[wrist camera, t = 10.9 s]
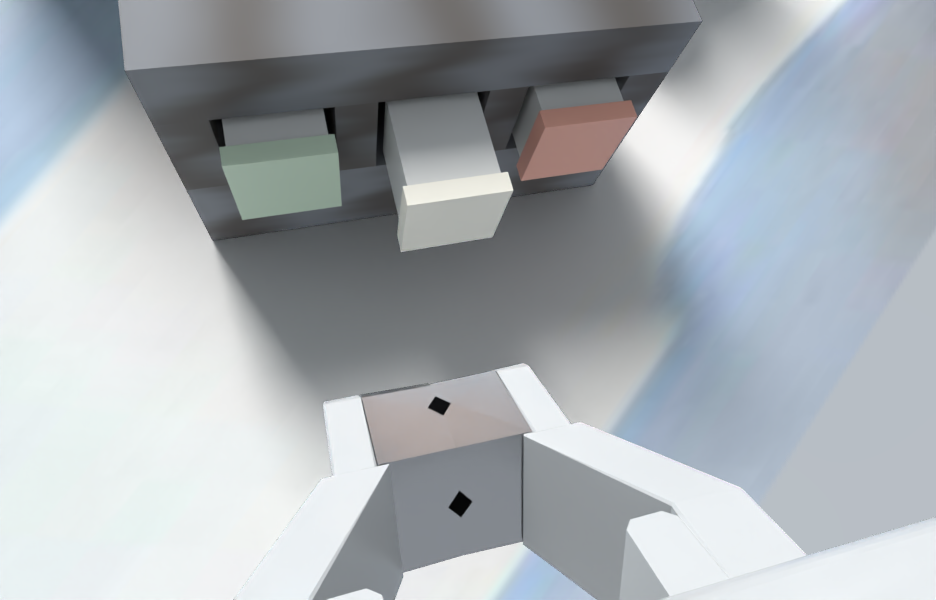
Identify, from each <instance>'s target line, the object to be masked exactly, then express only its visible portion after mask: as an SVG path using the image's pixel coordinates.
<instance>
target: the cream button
mask: <svg viewBox="0 0 936 600" xmlns="http://www.w3.org/2000/svg"><path fill="white" fill-rule="evenodd" d="M383 153H384V157H385V162H386V166H387V170H388V175H389V179H390V183H391V187H392V192H393V196H394V200H395V204H396V209H397V213H398V217H399V222H398V231H397V237H398V241H399V246H400V250H401V252H405V251H411V250H417V249H423V248H429V247H436V246H442V245H448V244H454V243H460V242H467V241H473V240H479V239H485V238H491V237H493V235H494V233H495V231H496V228H497V226H498V224H499V222H500V220H501V217H502V215H503V213H504V211H505V208H506V206H507V204H508V202H509V199H510V197H511V195H512V193H513V187H512V184H511V180H510V177H509V174H508V172H503V173H501V171H500V168H499V164H498V161H497V158H496V154H495V151H494V148H493V144H492V141H491V138H490V134H489V131H488V127H487V124H486V121H485V117H484V114H483V111H482V107H481V104H480V100H479V97H478V94H477V92H472V93H462V94H453V95H443V96H434V97H424V98H415V99H405V100H396V101H386V102H385V119H384V137H383Z"/></svg>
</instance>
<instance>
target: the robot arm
mask: <svg viewBox="0 0 936 600" xmlns="http://www.w3.org/2000/svg"><path fill="white" fill-rule="evenodd" d="M360 397H361V398H360ZM360 397H359V396H358V395H355V396H350V397H345V398H340V399H335V400H330V401H325V402H324V405H323V410H324V417H325V425H326V432H327V440H328V447H329V455H330V462H331V470H332V476H330V477H326V478H322V479H321V480H320V481H319V483H318V484H317V485H316V487H315V488H314V490H313V491H312V492H311V494H310V495H309V496H308V498H307V499H306V501H305V502H304V503H303V505H302V506H301V507H300V509H299V510H298V512H297V513H296V514H295V516H294V517H293V518H292V520H291V521H290V523H289V524H288V525H287V527H286V528H285V529H284V531H283V532H282V534H281V535H280V536H279V538H278V539H277V540H276V542H275V543H274V545H273V546H272V547H271V549H270V550H269V551H268V553H267V554H266V556H265V557H264V558H263V560H262V561H261V563H260V564H259V565H258V567H257V568H256V569H255V571H254V572H253V574H252V575H251V576H250V578H249V579H248V580H247V582H246V583H245V585H244V586H243V587H242V589H241V590H240V591H239V593H238V594H237V596H236V597H235V598H234V600H395V597H396V595H397V592H398V589H399V587H400V584H401V581H402V578H403V573H404V572H407V571H410V570H414V569H417V568H421V567H424V566H428V565H431V564H435V563H438V562H441V561H445V560H448V559H452V558H455V557H459V556H462V555H466V554H471V553H475V552H479V551H484V550H488V549H492V548H497V547H501V546H505V545H510V544H514V543H518V542H523V545H525V546H526V547H527V548H529V549H530V550H531V551H533V552H534V553H535V554H537V555H538V556H539V557H541V558H542V559H543V560H545V561H546V562H547V563H549V564H550V565H551V566H553V567H554V568H555V569H557V570H558V571H559V572H561V573H562V574H563V575H565V576H566V577H567V578H569V579H570V580H571V581H573V582H574V583H575V584H577V585H578V586H579V587H581V588H582V589H583V590H585V591H586V592H587V593H589V594H590V595H591V596H593V597H594V598H595V599H597V600H936V517H934V518H930V519H927V520H923V521H920V522H917V523H913V524H910V525H907V526H903V527H900V528H897V529H893V530H890V531H887V532H883V533H880V534H877V535H873V536H870V537H866V538H863V539H860V540H857V541H853V542H850V543H847V544H843V545H840V546H836V547H833V548H830V549H827V550H823V551H820V552H816V553H813V554H810V555H806V554H805V553H804V552H803V551H802V550H801V549H800V548H799V547H798V546H797V545H796V543H795V542H794V541H793V540H792V539H791V538H790V537H789V536H788V535H787V534H786V533H785V532H784V531H783V530H782V529H781V528H780V527H779V526H778V525H777V524H776V523H775V522H774V521H773V520H772V519H771V518H770V517H769V516H768V515H767V514H766V513H765V512H764V510H762V508H761V507H760V506H759V505H758V504H757V503H756V502H755V501H754V500H753V499H752V498H751V497H750V496H749V495H748V494H747V493H746V492H745V491H744V490H743V489H742V488H740V487H738V486H736V485H733V484H731V483H728V482H726V481H723V480H721V479H719V478H716V477H714V476H711V475H709V474H706V473H704V472H702V471H699V470H697V469H694V468H692V467H689V466H687V465H685V464H682V463H680V462H677V461H675V460H672V459H670V458H668V457H665V456H663V455H660V454H658V453H655V452H653V451H651V450H648V449H646V448H643V447H641V446H638V445H636V444H633V443H631V442H629V441H626V440H624V439H621V438H619V437H616V436H614V435H612V434H609V433H607V432H604V431H602V430H599V429H597V428H595V427H592V426H590V425H587V424H585V423H582V422H578V423H573V424H571V423H570V421H569V420H568V418H567V417H566V416H565V414H564V413H563V412H562V410H561V409H560V408H559V406H558V405H557V403H556V402H555V401H554V399H553V398H552V397H551V395H550V394H549V392H548V391H547V390H546V388H545V387H544V386H543V384H542V383H541V382H540V380H539V379H538V377H537V376H536V375H535V373H534V372H533V371H532V369H531V368H530V366H529V365H527V364H524V363H522V364H517V365H513V366H508V367H504V368H500V369H495V370H492V371H488V372H484V373H479V374H474V375H470V376H465V377H460V378H455V379H451V380H446V381H441V382H436V383H432V384H428V383H427V384H421V385H415V386H409V387H403V388H397V389H391V390H386V391H380V392H374V393H368V394H362V395H360Z"/></svg>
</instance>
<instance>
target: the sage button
mask: <svg viewBox="0 0 936 600" xmlns="http://www.w3.org/2000/svg"><path fill="white" fill-rule="evenodd" d="M222 124H223V131H224V138H225V144H226V146H225V147H219V150H220V157H221V164H222V168H223V171H224V174H225V176H226V179H227V181H228V184H229V186H230V189H231V192H232V194H233V197H234V199H235V202H236V205H237V207H238V210H239V212H240V215H241V217H242V220H246V219H253V218H260V217H267V216H274V215H282V214H289V213H296V212H303V211H310V210H317V209H324V208H331V207H338V206H342V203H341V187H340V171H339V155H338V149H337V144H336V139H335V134H329V135H328V130H327V125H326V120H325V115H324V110H323V108H320V109H310V110H301V111H291V112H282V113H272V114H263V115H253V116H244V117H234V118H225V119H222Z"/></svg>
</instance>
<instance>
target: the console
mask: <svg viewBox="0 0 936 600" xmlns="http://www.w3.org/2000/svg"><path fill="white" fill-rule="evenodd" d="M118 5H119V16H120V26H121V37H122V48H123V58H124V69H125V72H126V74H127V76H128V78H129V80H130V82H131V84H132V86H133V88H134V90H135V92H136V93H137V95H138V97H139V99H140V101H141V103H142V105H143V107H144V109H145V111H146V113H147V115H148V117H149V119H150V121H151V122H152V124H153V126H154V128H155V130H156V132H157V134H158V136H159V138H160V140H161V142H162V144H163V146H164V148H165V150H166V151H167V153H168V155H169V157H170V159H171V161H172V163H173V165H174V167H175V169H176V171H177V173H178V175H179V177H180V179H181V180H182V182H183V184H184V186H185V188H186V190H187V192H188V194H189V196H190V198H191V200H192V202H193V204H194V206H195V207H196V209H197V211H198V213H199V215H200V217H201V219H202V221H203V223H204V225H205V227H206V229H207V231H208V233H209V235H210V236H211V238H212V240H213V241H214V240H221V239H228V238H234V237H241V236H248V235H255V234H262V233H268V232H275V231H282V230H289V229H296V228H302V227H309V226H316V225H323V224H330V223H336V222H343V221H350V220H357V219H364V218H370V217H377V216H384V215H391V214H398V213H397V209H396V204H395V200H394V196H393V192H392V187H391V183H390V179H389V175H388V170H387V166H386V162H385V157H384V153H383V137H384V119H385V102H386V101H396V100H405V99H415V98H424V97H434V96H443V95H453V94H462V93H472V92H477V94H478V97H479V100H480V104H481V107H482V111H483V114H484V117H485V121H486V124H487V127H488V131H489V134H490V138H491V141H492V144H493V148H494V151H495V154H496V158H497V161H498V164H499V168H500V171H501V173H503V172H508V174H509V177H510V180H511V184H512V187H513V193H512V195H511V197H513V196H520V195H527V194H534V193H541V192H547V191H554V190H561V189H568V188H575V187H581V186H588V185H593V184H594V182H595V181H596V179H597V178H598V176H599V175H600V173H601V172H602V170H603V169H604V167H605V166H606V164H607V163H608V161H609V160H610V158H611V157H612V155H613V154H614V152H615V151H616V149H617V148H618V146H619V145H620V143H621V142H622V140H623V139H624V138H625V136H626V135H627V133H628V132H629V130H630V129H631V127H632V126H633V124H634V123H635V121H636V120H637V118H638V117H639V115H640V114H641V112H642V111H643V109H644V108H645V106H646V105H647V103H648V102H649V100H650V99H651V97H652V96H653V94H654V93H655V91H656V90H657V88H658V87H659V85H660V84H661V82H662V81H663V79H664V78H665V76H666V75H667V73H668V72H669V70H670V69H671V67H672V66H673V64H674V63H675V61H676V60H677V58H678V57H679V55H680V54H681V52H682V51H683V49H684V48H685V46H686V45H687V43H688V42H689V40H690V39H691V37H692V36H693V34H694V33H695V31H696V30H697V28H698V27H699V25H700V24H701V22H702V19H701V17H700V15H699V12H698V10H697V8H696V6H695V3H694V1H693V0H118ZM605 78H615V79H616V82H617V85H618V87H619V90H620V92H621V95H622V98H623V100H624V101H628V100H631V101H632V104H633V106H634V109H635V112H636V114H637V118H636V119H635V121H634V122H633V124H632V125H631V127H630V128H629V130H628V131H627V133H626V134H625V136H624V137H623V139H622V140H621V142H620V143H619V145H618V146H617V148H616V149H615V151H614V152H613V154H612V155H611V157H610V158H609V160H608V161H607V163H606V164H605V166H604V167H603V169H602V170H595V171H588V172H581V173H574V174H567V175H560V176H553V177H546V178H539V179H531V180H524V181H521V179H520V176H519V173H518V170H517V166H516V165H517V163H518V160H519V158H520V156H519V153H518V150H517V147H516V143H515V140H514V137H513V134H512V130H513V128H514V125H515V122H516V120H517V117H518V115H519V112H520V109H521V107H522V104H523V101H524V99H525V96H526V93H527V91H528V88H529V86H539V85H548V84H558V83H567V82H577V81H586V80H596V79H605ZM320 108H323V110H324V115H325V120H326V125H327V130H328V135H329V134H335V139H336V144H337V149H338V155H339V171H340V187H341V203H342V206H338V207H331V208H324V209H317V210H310V211H303V212H296V213H289V214H282V215H274V216H267V217H260V218H253V219H246V220H242V217H241V215H240V212H239V210H238V207H237V205H236V202H235V199H234V197H233V194H232V192H231V189H230V186H229V184H228V181H227V179H226V176H225V174H224V171H223V168H222V164H221V157H220V150H219V147H225V146H226V144H225V138H224V131H223V124H222V119H225V118H234V117H244V116H253V115H263V114H272V113H282V112H291V111H301V110H310V109H320Z"/></svg>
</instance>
